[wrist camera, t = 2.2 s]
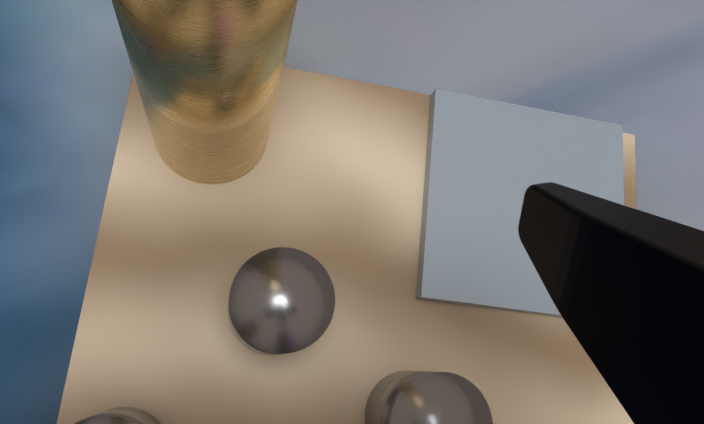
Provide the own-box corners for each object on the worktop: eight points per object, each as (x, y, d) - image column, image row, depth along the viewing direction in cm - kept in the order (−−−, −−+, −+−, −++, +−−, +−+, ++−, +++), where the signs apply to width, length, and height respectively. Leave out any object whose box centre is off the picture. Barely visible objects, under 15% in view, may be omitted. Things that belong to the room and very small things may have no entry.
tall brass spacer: (259, 192, 21) (306, -6, 10) (142, 174, 20) (45, -62, 9) (275, 89, 22) (333, -197, 11) (164, 69, 21) (101, -261, 10)
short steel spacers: (606, 541, 21) (680, 575, 17) (56, 509, 18) (18, 542, 14) (604, 309, 23) (669, 300, 20) (112, 243, 20) (90, 219, 16)
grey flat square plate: (616, 324, 23) (626, 323, 22) (415, 298, 21) (421, 297, 21) (613, 130, 25) (622, 125, 24) (430, 95, 24) (435, 88, 23)
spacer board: (627, 551, 22) (645, 559, 21) (43, 518, 18) (33, 526, 17) (619, 143, 26) (634, 134, 25) (144, 52, 23) (140, 39, 22)
